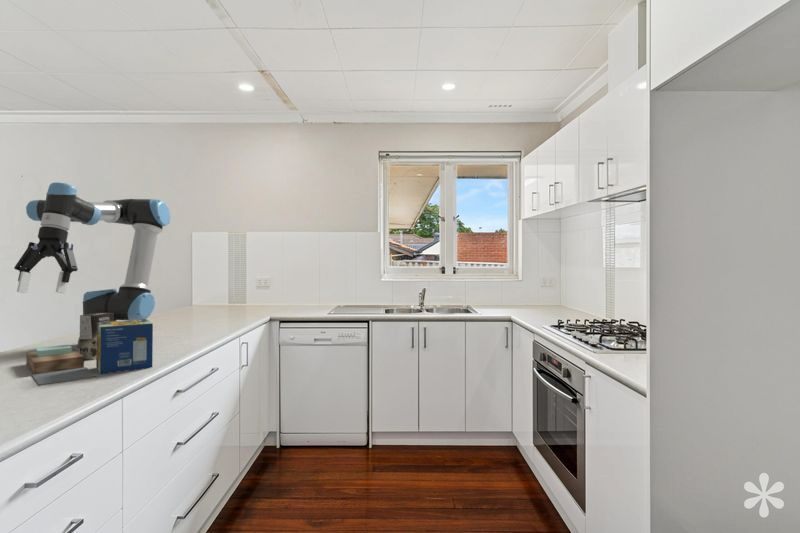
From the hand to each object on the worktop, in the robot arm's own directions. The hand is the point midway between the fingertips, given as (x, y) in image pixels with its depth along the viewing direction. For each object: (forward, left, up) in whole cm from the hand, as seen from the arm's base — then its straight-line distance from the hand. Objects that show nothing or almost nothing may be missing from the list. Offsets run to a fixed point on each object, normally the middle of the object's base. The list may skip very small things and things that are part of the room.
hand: (40, 292), depth 139 cm
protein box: (-21, +9, -26) cm, 35 cm away
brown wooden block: (-5, -8, -26) cm, 28 cm away
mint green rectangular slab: (-5, -10, -22) cm, 25 cm away
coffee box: (-18, -15, -26) cm, 35 cm away
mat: (-5, +8, -26) cm, 28 cm away
